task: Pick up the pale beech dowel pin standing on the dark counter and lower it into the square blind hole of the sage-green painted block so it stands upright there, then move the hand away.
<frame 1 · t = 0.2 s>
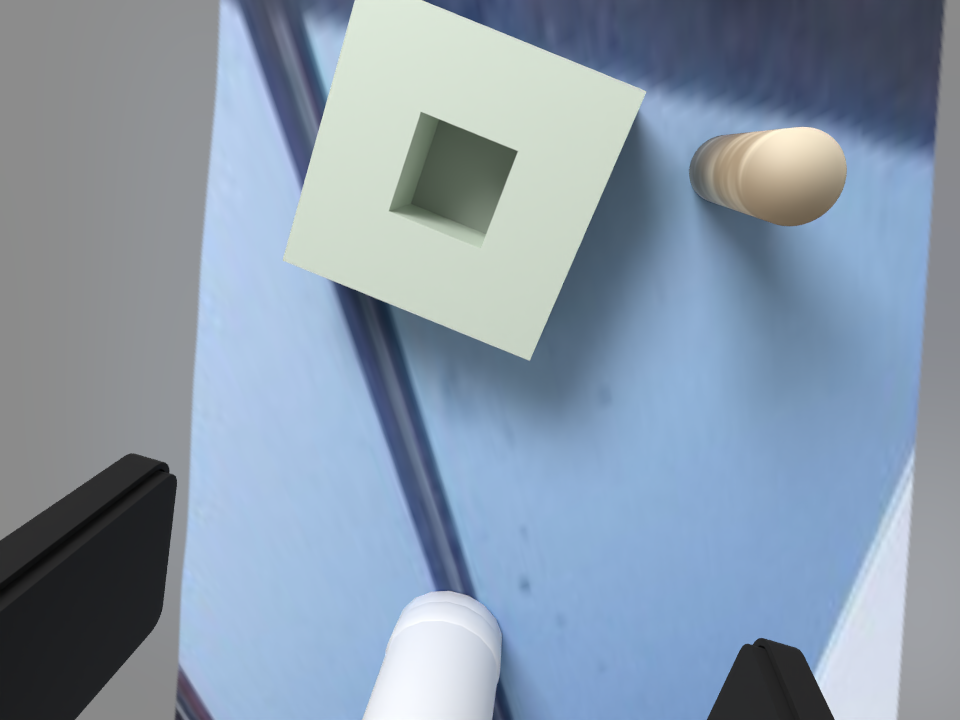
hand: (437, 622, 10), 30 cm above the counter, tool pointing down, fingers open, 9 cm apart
bottle: (449, 632, 48), on the counter
hole block: (468, 177, 38), on the counter
pin: (723, 169, 36), on the counter
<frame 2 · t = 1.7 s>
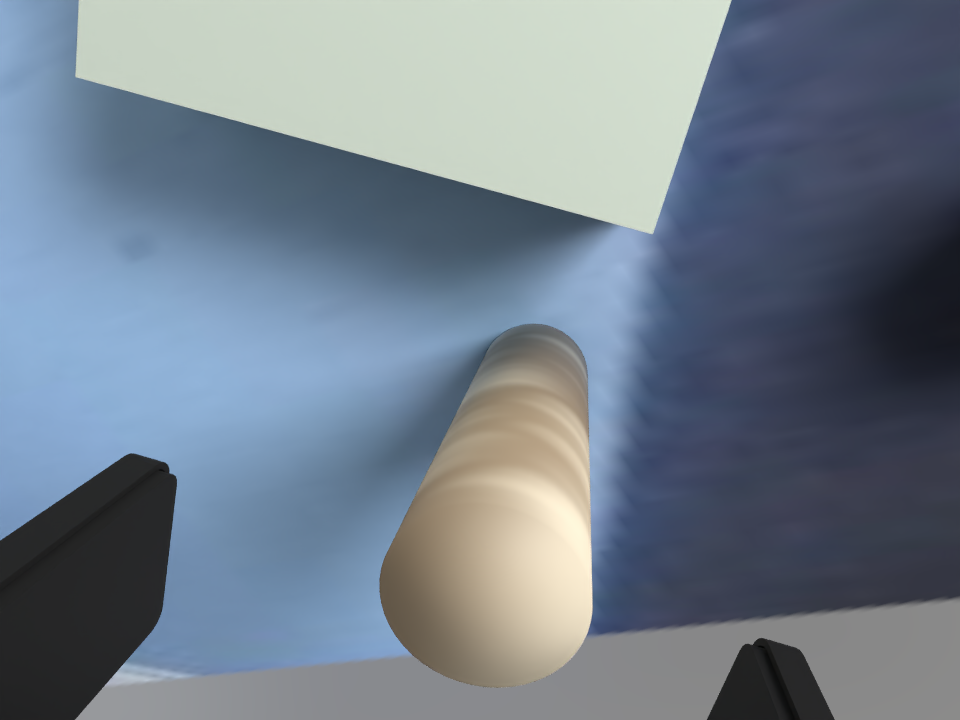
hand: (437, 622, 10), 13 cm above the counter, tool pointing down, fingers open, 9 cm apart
pin: (534, 375, 22), on the counter
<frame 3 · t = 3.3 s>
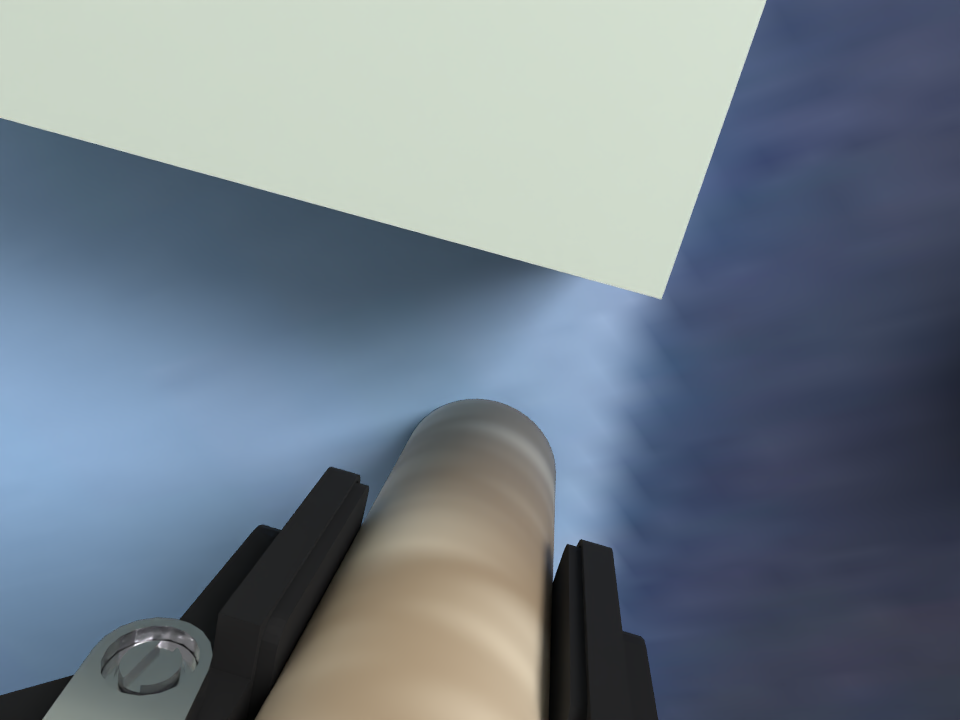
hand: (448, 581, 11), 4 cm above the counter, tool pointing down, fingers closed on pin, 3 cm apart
pin: (478, 470, 15), on the counter, touching gripper
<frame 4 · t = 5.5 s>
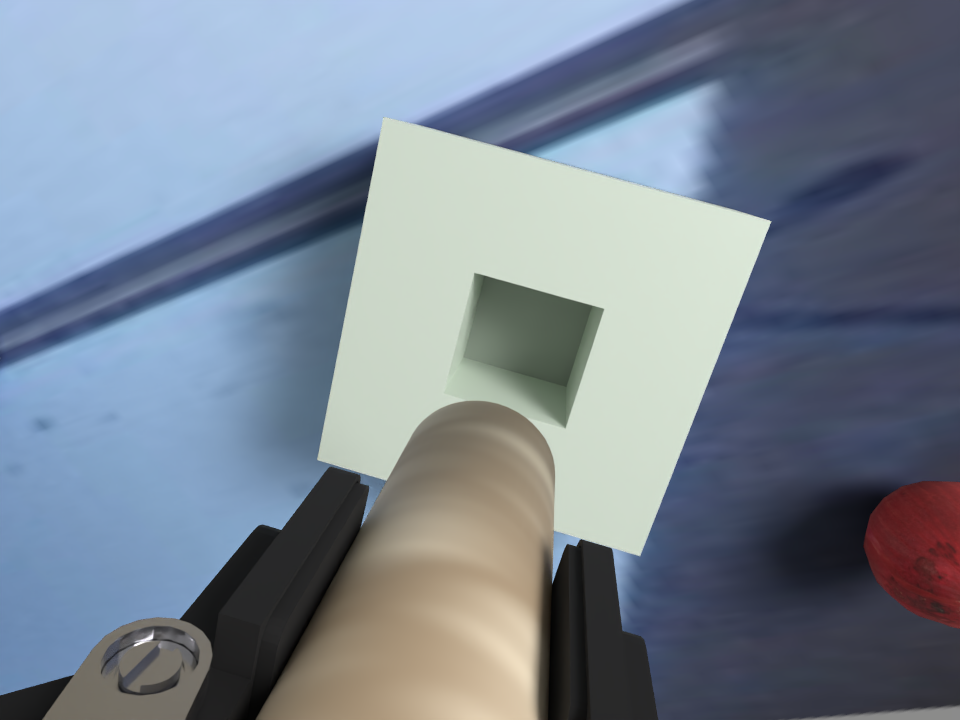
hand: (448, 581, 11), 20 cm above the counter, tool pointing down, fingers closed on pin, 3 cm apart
onion: (901, 505, 31), on the counter
hole block: (530, 317, 31), on the counter
pin: (478, 471, 15), point 16 cm above the counter, touching gripper
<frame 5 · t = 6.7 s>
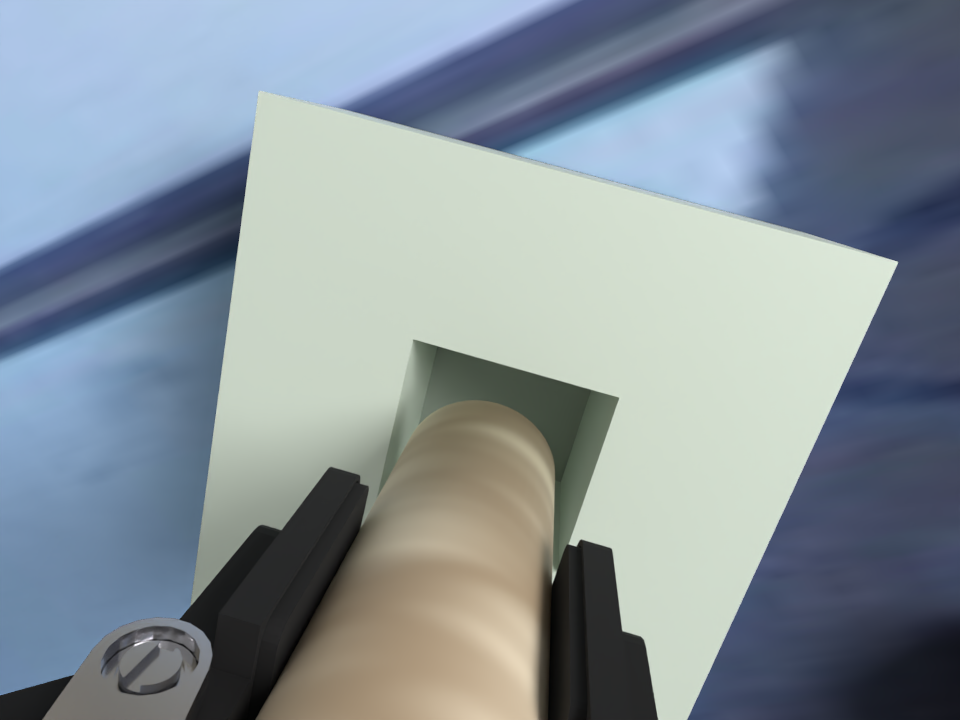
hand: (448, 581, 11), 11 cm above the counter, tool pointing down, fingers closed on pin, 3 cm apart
hole block: (509, 382, 22), on the counter
pin: (478, 471, 15), point 7 cm above the counter, touching gripper
when the fingers open (6 cm above the counter, at t = 7.9 s): pin stays where it is, resting on hole block.
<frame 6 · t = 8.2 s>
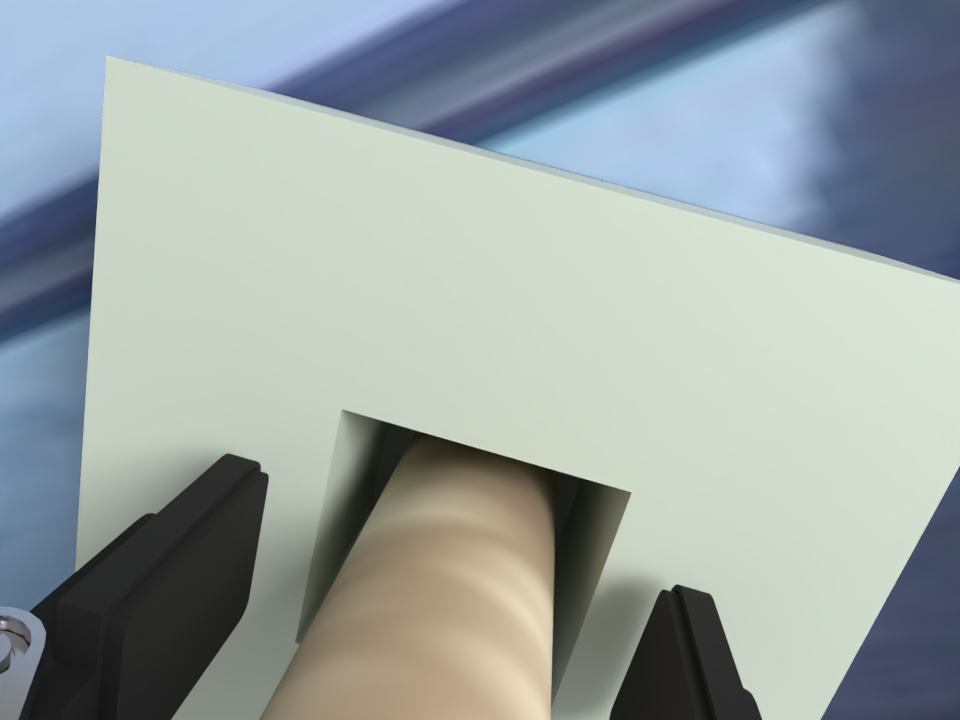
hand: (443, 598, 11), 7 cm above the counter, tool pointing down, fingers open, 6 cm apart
hole block: (487, 436, 17), on the counter
pin: (484, 454, 16), point 1 cm above the counter, touching hole block
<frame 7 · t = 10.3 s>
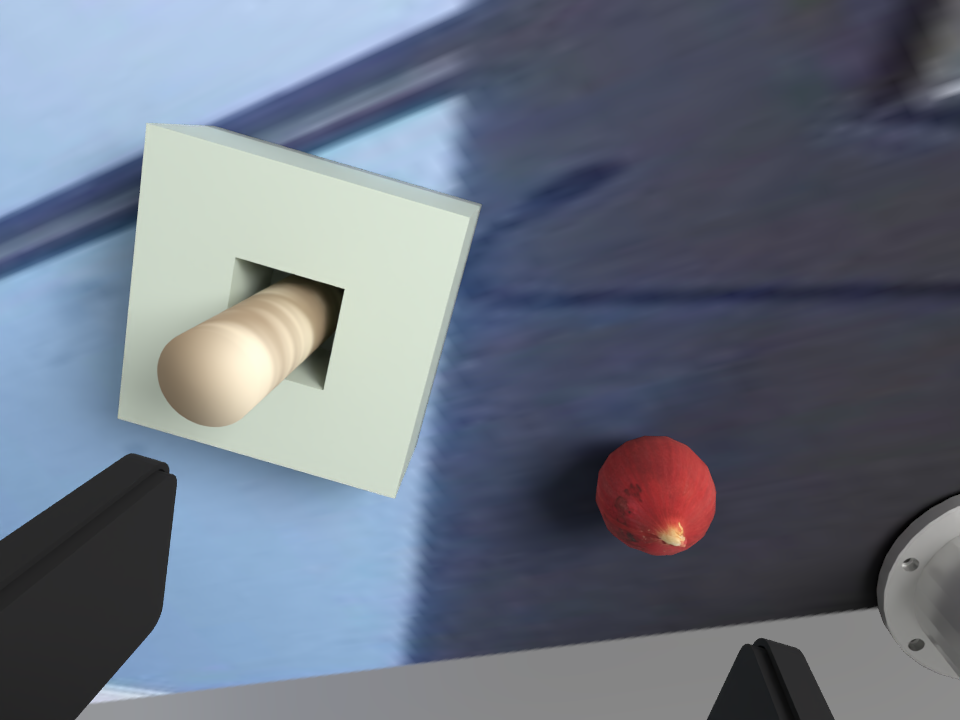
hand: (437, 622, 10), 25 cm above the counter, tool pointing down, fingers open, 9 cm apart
onion: (642, 458, 37), on the counter
hole block: (321, 295, 35), on the counter
pin: (316, 301, 34), point 1 cm above the counter, touching hole block
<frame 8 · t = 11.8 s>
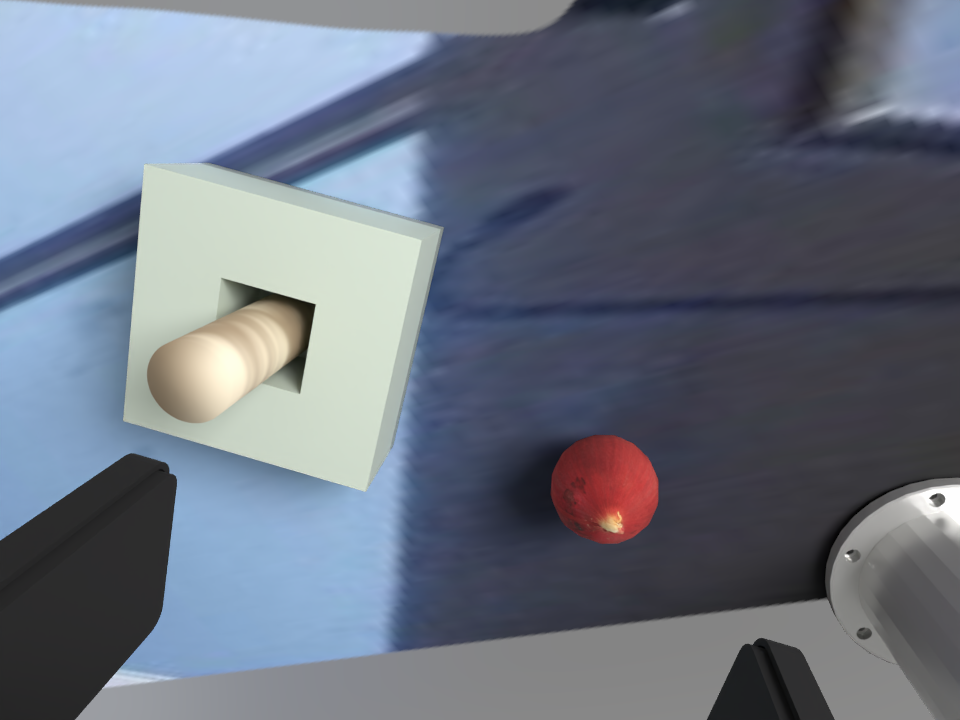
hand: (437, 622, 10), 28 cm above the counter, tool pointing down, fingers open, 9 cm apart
onion: (600, 457, 40), on the counter
hole block: (305, 311, 39), on the counter
pin: (299, 315, 38), point 1 cm above the counter, touching hole block
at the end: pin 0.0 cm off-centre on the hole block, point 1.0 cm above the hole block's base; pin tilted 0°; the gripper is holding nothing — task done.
